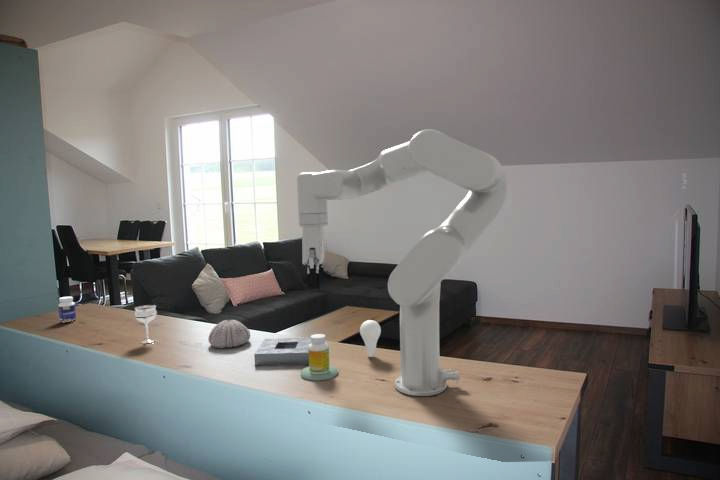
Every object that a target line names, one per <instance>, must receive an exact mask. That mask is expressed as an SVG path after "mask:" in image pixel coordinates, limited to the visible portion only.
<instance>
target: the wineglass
mask: <svg viewBox="0 0 720 480" xmlns="http://www.w3.org/2000/svg"><path fill="white" fill-rule="evenodd" d="M156 308H157V305H155V304H145V305H139V306H135V307H134V311H135V312H134V317H135V319H136V320H137V321H138V322H140V323H143V324H144V325H145V333H146V334H145V335H146V339H145V340H143V341H141V342H142V343H151V342H154V340H155V339H149V324H150V323H151V322H152V321H154V319H155V318H156V317H157V315H158V312H157V309H156Z"/></svg>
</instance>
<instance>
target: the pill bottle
mask: <svg viewBox="0 0 720 480" xmlns="http://www.w3.org/2000/svg"><path fill="white" fill-rule="evenodd" d="M73 300H74V297H73V296H71V295H70V296H62V297H59V299H58V301H59V303H58V318H59V319H58V321H59V322H60V321H70V320H74V319H76V320H77V315H76V302H74V301H73Z"/></svg>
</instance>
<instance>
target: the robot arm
mask: <svg viewBox="0 0 720 480" xmlns="http://www.w3.org/2000/svg"><path fill="white" fill-rule="evenodd" d="M429 173H430V174H432V175H435V176H437V177H439V178H441V179H443V180H445V181H447V182H449V183H452V184H454V185H456V186H458V187H460V188H462V189H465V190H468V192H467V193H466V196H465V197H464V198H463V199H462V200H461V201H460V203H458V205H457V206H456V207H455V208H454V209H453V211H452V212H451V213H450V214H449V216H448V217H447V218H445V220H444V221H443V222H442V223H441V224H440V225H439V226H437V227H434V228H433V229H430V230H428V231H427V232H426V233H425V234H423V236H421V237H420V238H419V239H418V241H417V242H416V243H415V244H414V246H413V247H411V249H410V250H409V251H408V252H407V253H406V254H405V256H404V257H403V258H402V259H401V260H400V262H399V263H398V264H397V266H396V267H395V268H393V270H392V272H391V273H390V275H389V277H388V281H387V291H388V294H389V296H390V298H391V299H392V300H393V301H394V302H395V304H397V305H399V342H400V343H399V351H400V353H399V354H400V375H399V376H397V377H396V379H394V387H395V389H396V390H397V391H399V392H400V393H402V394H406V395H409V396H415V397H429V396H434V395H439V394H440V393H442V392H444V391H445V390H446V388H447V381H459V380H461V378H460V371H454V370H453V369H443V368H442V367H441V365H440V364H441V363H440V362H441V361H440V301H441V299H440V298H441V286H442V285H441V284H442V283H441V282H442V281H443V280H444V279H445V278H446V277H447V276H448V274H449V273H450V272H451V271H452V270H453V269H454V268H455V267H456V266H457V265H458V264H459V263H461V262H462V260H463V259H464V258H465V256H466V254H467V253H468V252H469V251H470V249H471V248H472V247H473V246H474V245H475V243H476V242H477V241H478V240H479V239H480V238H481V236H483V234H484V233H485V231H487V230H488V229H489V227H490V226H491V225H492V224H493V223H494V221H495V220H496V219H497V217H498V215H499V214H500V212H501V211H502V210H503V207H504V205H505V202H506V198H507V194H508V182H507V177H506V174H505V171H504V169H503V167H502V165H501V163H500V162H499V160H498V159H497V158H496V157H495V156H493V155H491V154H489V153H487V152H485V151H482V150H480V149H478V148H476V147H473V146H471V145H468V144H466V143H464V142H461V141H459V140H458V139H455V138H453V137H450V136H449V135H447V134H445V133H443V132H441V131H439V130H437V129H433V128H426V129H422V130H420V131H418V132H417V133H415V134H414V135H413V137H412V138H411V139H410V140H409V141H405V142H404V143H400V144H398V145H394V146H392V147H390V148H387V149H384V150H382V151H381V152H380V154H379V155H378V157H377V158H376V159H374V160H373V161H372V162H369V163H367V164H364V165H362V166H359V167H355V168H353V169H350V170H343V169H342V170H341V169H330V170H325V171H321V172H320V171H310V172H307V171H306V172H300V173H299V174H298V175H297V176H296V185H297V187H296V188H297V191H296V192H297V207H298V226H299V227H302V234H301V235H302V237H301V240H302V241H301V243H302V244H301V245H302V247H301V249H302V250H301V251H302V253H301V254H302V260H301V261H302V265H304V266H306V265H307V269H306V270H307V272H306V281H307V282H306V283H307V289H308V290H319V289H321V283H323V282H325V274H324V271H325V270H324V265H323V263H324V259H325V229H324V227H326V226H329V219H328V217H329V216H328V215H329V214H328V200H329V201H342V200H353V199H357V198H360V197H362V196H366V195H369V194H372V193H374V192H378V191H380V190H382V189H384V188H385V189H386V188H388V187H392V186H394V185H397V184H400V183H403V182H405V181H408V180H411V179H413V178H414V179H415V178H416V177H420V176H424V175H426V174H429Z"/></svg>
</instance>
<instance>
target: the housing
mask: <svg viewBox="0 0 720 480" xmlns="http://www.w3.org/2000/svg"><path fill="white" fill-rule="evenodd" d="M311 343H312V342H311V340H310V337H292V338H291V337H290V338H288V337H287V338H286V337H285V338H282V337H281V338H264V339H263V341H262V342H261V343H260V345H259V347H258V348H257V349H256V351H255V352H254V353H253V354H254V355H253V356H254V366H255V367H256V366H257V367H266V366H267V367H268V366H272V367H273V366H304V365H305V366H309V351H308V347H309V345H310V344H311Z"/></svg>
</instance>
